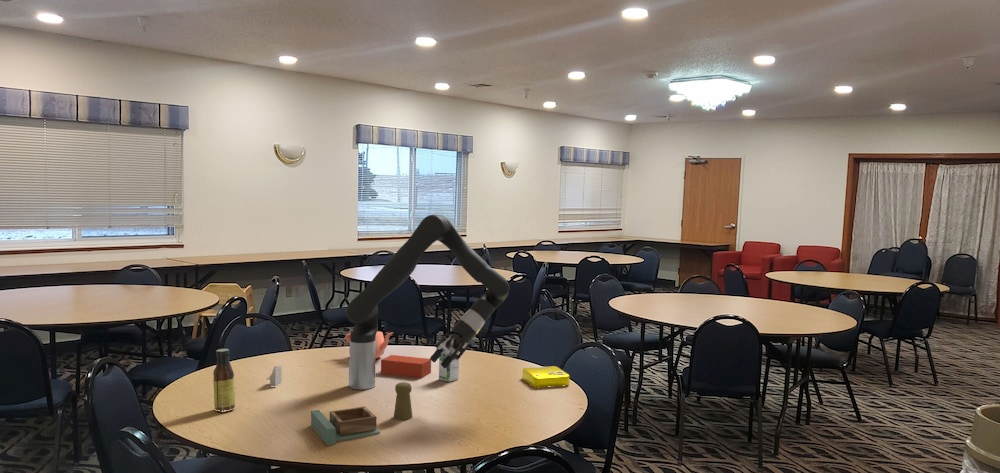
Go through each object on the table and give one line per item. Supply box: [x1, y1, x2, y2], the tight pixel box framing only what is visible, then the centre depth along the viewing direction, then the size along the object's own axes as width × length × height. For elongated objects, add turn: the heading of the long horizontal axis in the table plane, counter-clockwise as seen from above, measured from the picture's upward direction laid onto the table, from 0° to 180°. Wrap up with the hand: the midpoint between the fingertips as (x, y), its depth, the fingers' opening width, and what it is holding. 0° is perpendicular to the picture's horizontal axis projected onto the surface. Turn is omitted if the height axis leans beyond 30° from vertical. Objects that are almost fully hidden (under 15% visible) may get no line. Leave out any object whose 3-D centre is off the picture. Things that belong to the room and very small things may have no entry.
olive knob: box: [393, 381, 413, 421], centre depth 207 cm, size 6×6×11 cm
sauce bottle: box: [212, 348, 236, 411], centre depth 210 cm, size 6×6×20 cm
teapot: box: [344, 330, 394, 359], centre depth 280 cm, size 17×16×13 cm
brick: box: [380, 354, 432, 379], centre depth 258 cm, size 18×9×6 cm, turn 71°
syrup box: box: [438, 344, 460, 383], centre depth 251 cm, size 6×6×14 cm
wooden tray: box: [329, 406, 378, 436], centre depth 195 cm, size 11×11×4 cm
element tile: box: [521, 365, 570, 389], centre depth 250 cm, size 15×15×5 cm
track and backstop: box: [310, 409, 381, 446], centre depth 194 cm, size 18×16×5 cm
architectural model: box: [265, 364, 283, 387], centre depth 239 cm, size 3×7×7 cm, turn 175°
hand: (437, 363), depth 212 cm, fingers open, 8 cm apart
